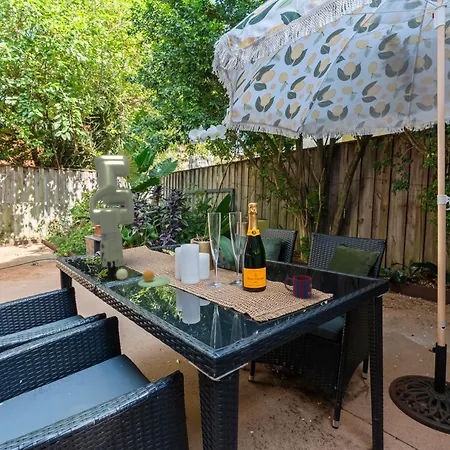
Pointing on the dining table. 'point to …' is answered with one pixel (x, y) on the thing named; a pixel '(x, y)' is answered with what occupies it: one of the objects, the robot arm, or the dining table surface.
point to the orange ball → (148, 275)
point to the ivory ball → (121, 274)
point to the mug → (301, 286)
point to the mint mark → (154, 282)
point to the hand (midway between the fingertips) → (112, 274)
